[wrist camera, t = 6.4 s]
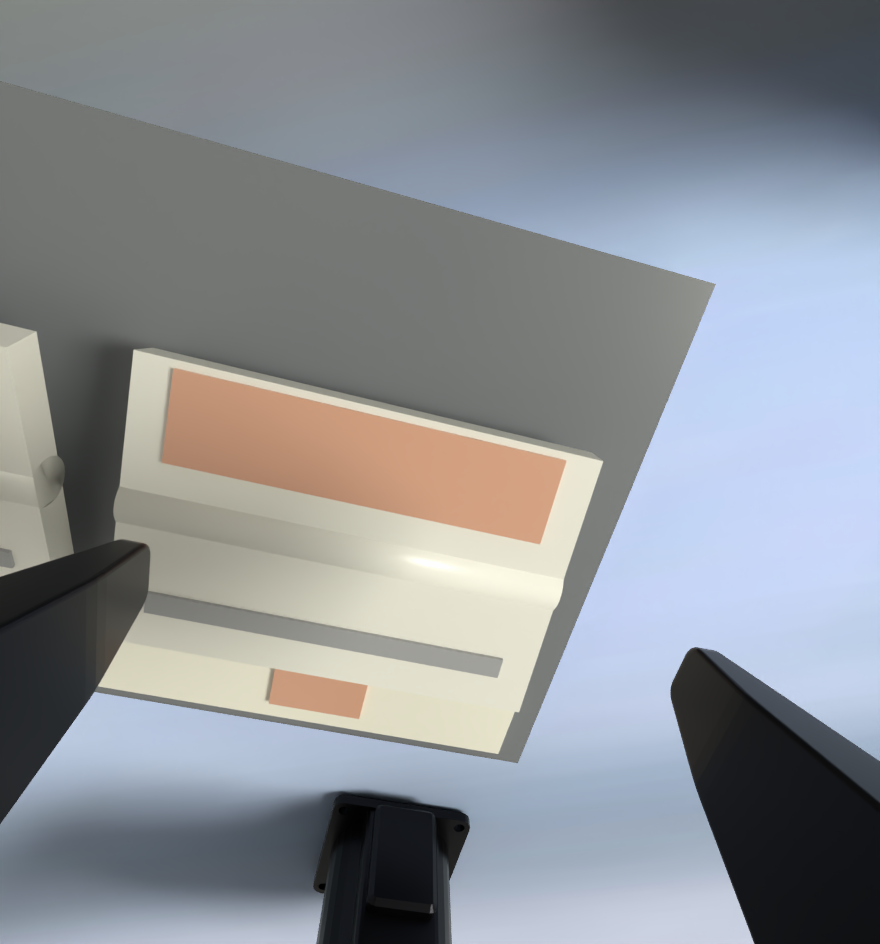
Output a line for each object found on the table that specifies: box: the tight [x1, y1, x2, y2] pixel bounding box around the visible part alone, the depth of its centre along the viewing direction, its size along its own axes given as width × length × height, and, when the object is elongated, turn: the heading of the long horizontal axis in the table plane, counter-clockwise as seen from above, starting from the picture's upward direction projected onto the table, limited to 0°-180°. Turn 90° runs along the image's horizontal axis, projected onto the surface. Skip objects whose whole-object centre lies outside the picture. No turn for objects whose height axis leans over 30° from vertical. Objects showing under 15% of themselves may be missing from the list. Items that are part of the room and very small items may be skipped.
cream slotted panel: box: [113, 348, 603, 712], centre depth 15 cm, size 8×12×1 cm, turn 76°
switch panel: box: [0, 81, 715, 763], centre depth 17 cm, size 18×30×4 cm, turn 76°
